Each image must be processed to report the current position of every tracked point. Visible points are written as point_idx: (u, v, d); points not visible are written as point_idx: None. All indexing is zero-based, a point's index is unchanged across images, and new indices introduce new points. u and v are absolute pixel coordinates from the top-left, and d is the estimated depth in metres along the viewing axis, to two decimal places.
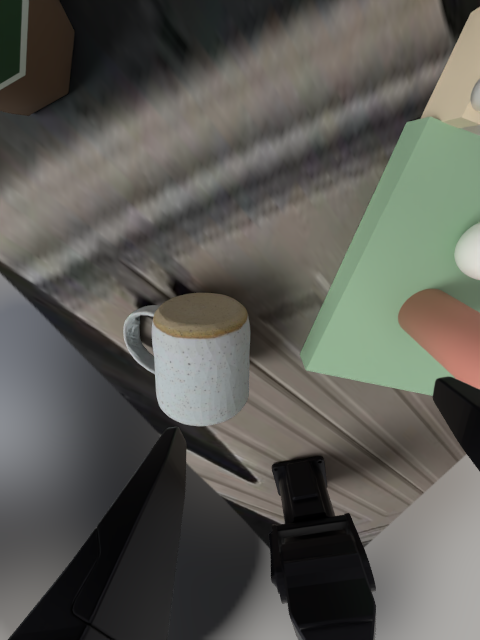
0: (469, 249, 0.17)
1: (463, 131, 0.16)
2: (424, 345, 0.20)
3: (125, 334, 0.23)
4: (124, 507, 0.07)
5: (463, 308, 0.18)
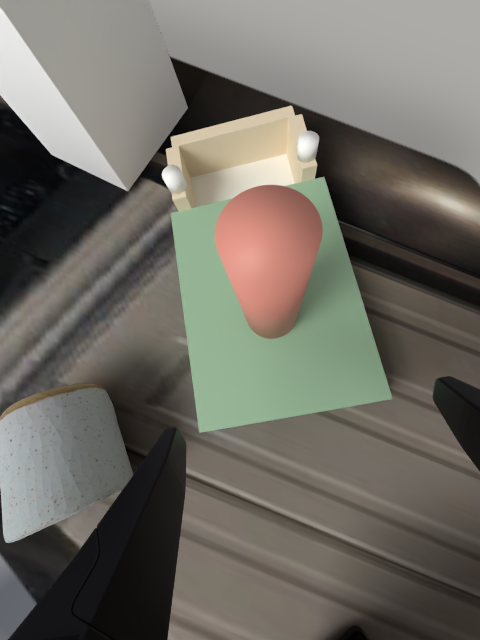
0: None
1: (195, 208, 0.25)
2: (252, 323, 0.18)
3: None
4: (124, 507, 0.07)
5: None
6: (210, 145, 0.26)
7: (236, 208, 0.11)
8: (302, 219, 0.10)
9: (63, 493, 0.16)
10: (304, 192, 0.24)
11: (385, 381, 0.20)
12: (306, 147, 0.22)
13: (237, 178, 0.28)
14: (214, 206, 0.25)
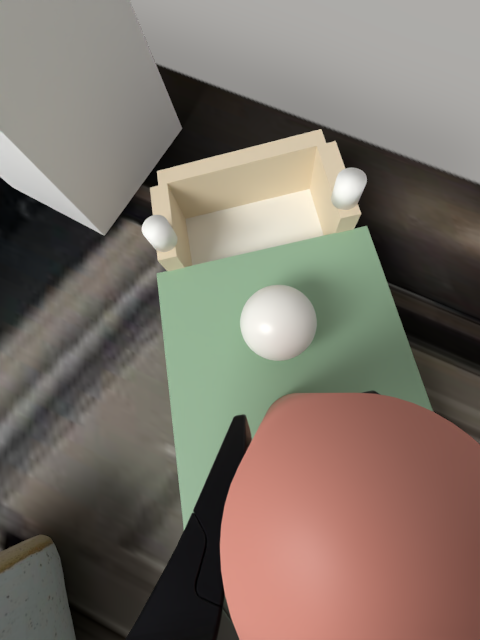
0: (242, 335, 0.14)
1: (190, 267, 0.18)
2: None
3: None
4: (217, 492, 0.07)
5: (282, 398, 0.12)
6: (210, 181, 0.19)
7: (278, 462, 0.04)
8: None
9: None
10: (340, 248, 0.17)
11: None
12: (348, 191, 0.15)
13: (246, 220, 0.22)
14: (216, 265, 0.18)
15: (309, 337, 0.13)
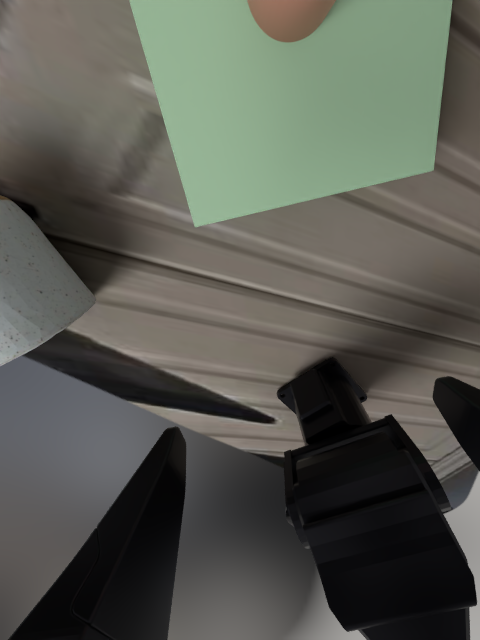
0: None
1: None
2: None
3: None
4: (124, 507, 0.07)
5: None
6: None
7: None
8: None
9: (16, 329, 0.14)
10: None
11: (433, 145, 0.15)
12: None
13: None
14: None
15: None
